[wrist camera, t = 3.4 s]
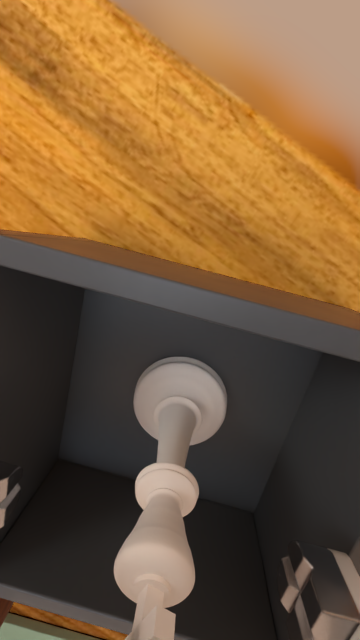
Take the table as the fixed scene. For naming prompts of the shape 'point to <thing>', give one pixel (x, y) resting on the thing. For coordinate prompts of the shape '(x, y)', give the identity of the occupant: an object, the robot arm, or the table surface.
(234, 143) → the table surface
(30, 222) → the table surface
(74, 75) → the table surface
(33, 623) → the mat
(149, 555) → the chess piece
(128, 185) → the table surface
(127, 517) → the tub
